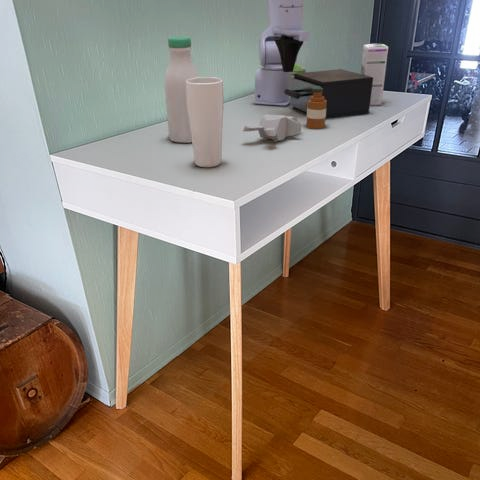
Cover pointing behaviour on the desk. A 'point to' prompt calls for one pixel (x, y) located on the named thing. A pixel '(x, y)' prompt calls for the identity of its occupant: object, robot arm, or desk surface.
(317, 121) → the bottle
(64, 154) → the desk surface
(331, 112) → the cabinet
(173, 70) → the milk bottle
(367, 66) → the syrup box
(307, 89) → the drawer
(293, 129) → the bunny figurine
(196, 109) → the drinking glass
